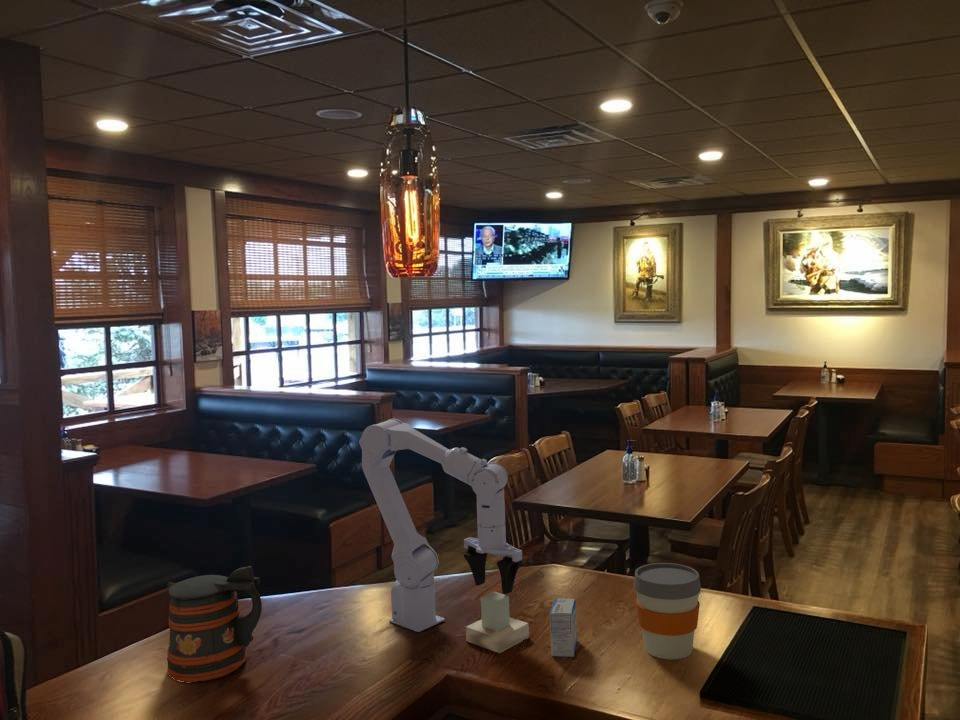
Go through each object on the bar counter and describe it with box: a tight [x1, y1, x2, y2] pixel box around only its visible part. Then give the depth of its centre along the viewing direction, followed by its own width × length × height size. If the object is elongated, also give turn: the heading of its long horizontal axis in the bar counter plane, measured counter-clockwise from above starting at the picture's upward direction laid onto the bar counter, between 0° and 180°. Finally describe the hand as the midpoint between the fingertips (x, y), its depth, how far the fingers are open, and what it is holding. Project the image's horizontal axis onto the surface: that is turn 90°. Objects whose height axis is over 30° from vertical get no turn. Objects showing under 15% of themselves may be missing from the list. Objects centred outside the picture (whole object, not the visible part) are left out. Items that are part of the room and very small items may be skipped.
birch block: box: [465, 617, 530, 654], centre depth 161 cm, size 9×9×3 cm
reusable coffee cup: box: [633, 562, 702, 660], centre depth 153 cm, size 12×13×15 cm
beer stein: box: [166, 565, 263, 683], centre depth 153 cm, size 19×15×20 cm
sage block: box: [480, 591, 511, 631], centre depth 160 cm, size 4×4×6 cm
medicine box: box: [549, 597, 578, 658], centre depth 155 cm, size 8×4×9 cm, turn 168°
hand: (493, 588), depth 164 cm, fingers open, 7 cm apart
